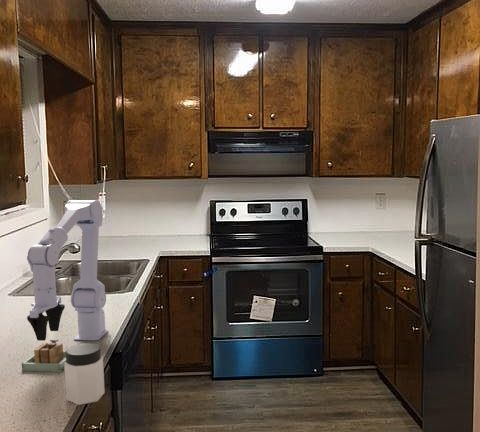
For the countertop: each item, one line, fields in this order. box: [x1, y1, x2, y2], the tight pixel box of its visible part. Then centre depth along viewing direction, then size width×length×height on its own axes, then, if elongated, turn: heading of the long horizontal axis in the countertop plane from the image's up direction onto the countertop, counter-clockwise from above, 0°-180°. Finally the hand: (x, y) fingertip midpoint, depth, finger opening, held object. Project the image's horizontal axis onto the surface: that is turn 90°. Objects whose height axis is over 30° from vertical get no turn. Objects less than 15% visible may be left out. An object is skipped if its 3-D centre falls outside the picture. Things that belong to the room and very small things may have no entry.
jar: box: [64, 342, 105, 406], centre depth 130 cm, size 9×8×12 cm
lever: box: [49, 339, 59, 343], centre depth 161 cm, size 2×2×3 cm
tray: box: [21, 350, 66, 373], centre depth 151 cm, size 10×11×2 cm
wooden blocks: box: [33, 342, 64, 364], centre depth 151 cm, size 6×7×4 cm
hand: (48, 335), depth 150 cm, fingers open, 7 cm apart
